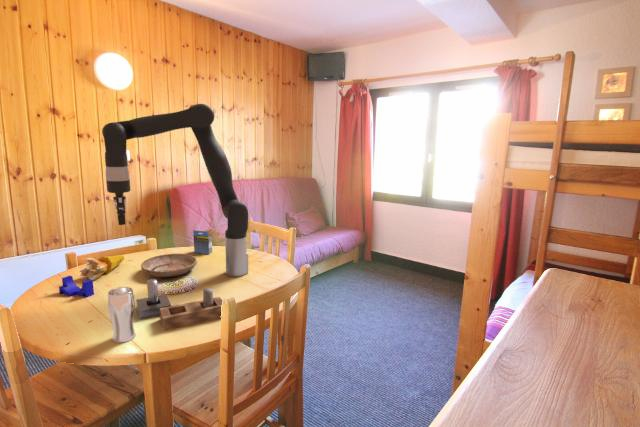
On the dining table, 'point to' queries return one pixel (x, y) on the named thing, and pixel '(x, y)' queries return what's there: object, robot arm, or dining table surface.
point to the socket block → (151, 307)
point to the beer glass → (122, 313)
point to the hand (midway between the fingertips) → (121, 222)
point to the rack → (191, 311)
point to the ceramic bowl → (169, 265)
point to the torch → (100, 266)
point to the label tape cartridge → (202, 242)
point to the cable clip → (76, 287)
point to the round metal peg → (152, 292)
